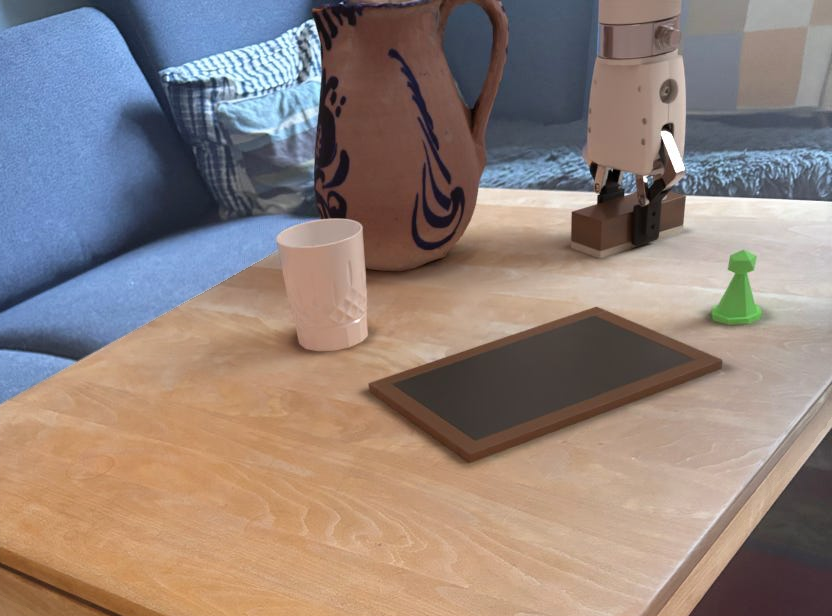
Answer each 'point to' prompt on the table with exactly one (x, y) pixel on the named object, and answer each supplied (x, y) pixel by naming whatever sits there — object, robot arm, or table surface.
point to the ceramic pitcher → (399, 127)
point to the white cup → (325, 282)
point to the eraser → (620, 224)
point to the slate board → (539, 381)
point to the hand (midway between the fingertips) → (626, 234)
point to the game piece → (738, 293)
